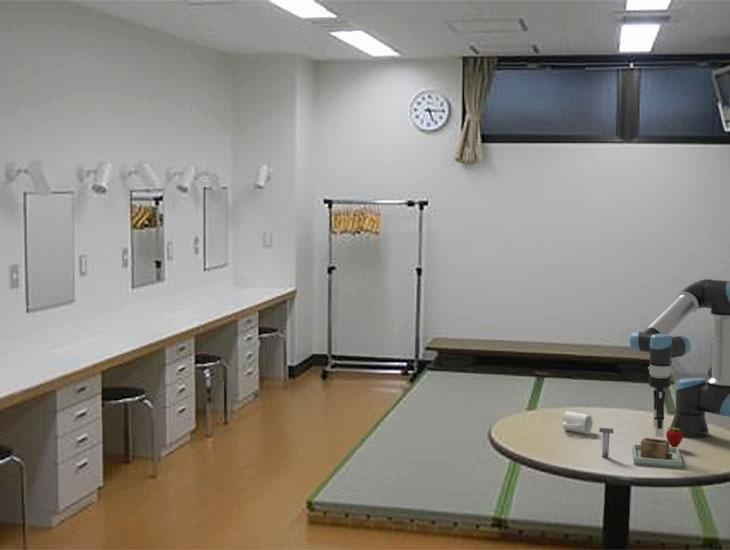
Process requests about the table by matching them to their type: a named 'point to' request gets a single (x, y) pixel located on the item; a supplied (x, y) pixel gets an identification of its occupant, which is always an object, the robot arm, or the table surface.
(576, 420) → the mug
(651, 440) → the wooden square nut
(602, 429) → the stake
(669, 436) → the strawberry
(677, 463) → the tray
